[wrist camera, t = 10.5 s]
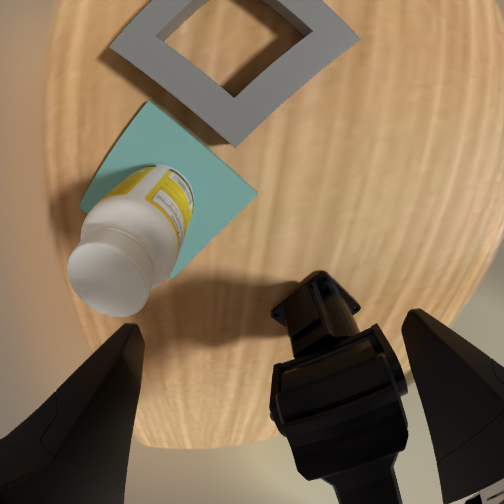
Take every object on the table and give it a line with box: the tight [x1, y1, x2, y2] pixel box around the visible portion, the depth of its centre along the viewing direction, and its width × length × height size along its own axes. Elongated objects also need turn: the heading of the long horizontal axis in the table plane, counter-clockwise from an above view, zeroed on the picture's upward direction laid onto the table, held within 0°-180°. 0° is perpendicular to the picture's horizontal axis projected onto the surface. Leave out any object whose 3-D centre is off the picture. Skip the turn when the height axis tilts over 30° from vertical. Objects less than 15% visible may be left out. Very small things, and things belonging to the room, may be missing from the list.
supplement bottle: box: [67, 164, 194, 317], centre depth 14 cm, size 5×5×10 cm
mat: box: [78, 101, 257, 279], centre depth 19 cm, size 10×10×1 cm
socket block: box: [109, 0, 361, 148], centre depth 13 cm, size 11×11×2 cm
